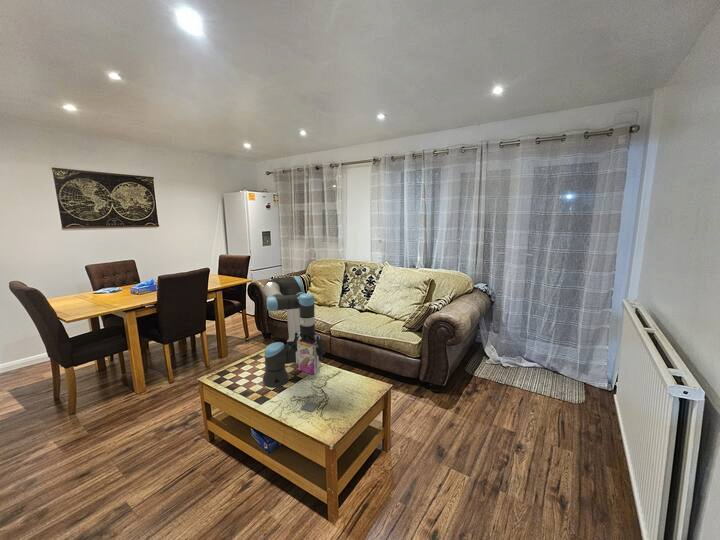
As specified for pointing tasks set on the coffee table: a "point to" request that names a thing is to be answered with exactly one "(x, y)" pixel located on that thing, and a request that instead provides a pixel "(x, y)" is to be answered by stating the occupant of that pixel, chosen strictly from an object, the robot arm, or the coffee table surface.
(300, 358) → the candy bar box
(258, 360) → the coffee table surface
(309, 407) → the slate coaster
